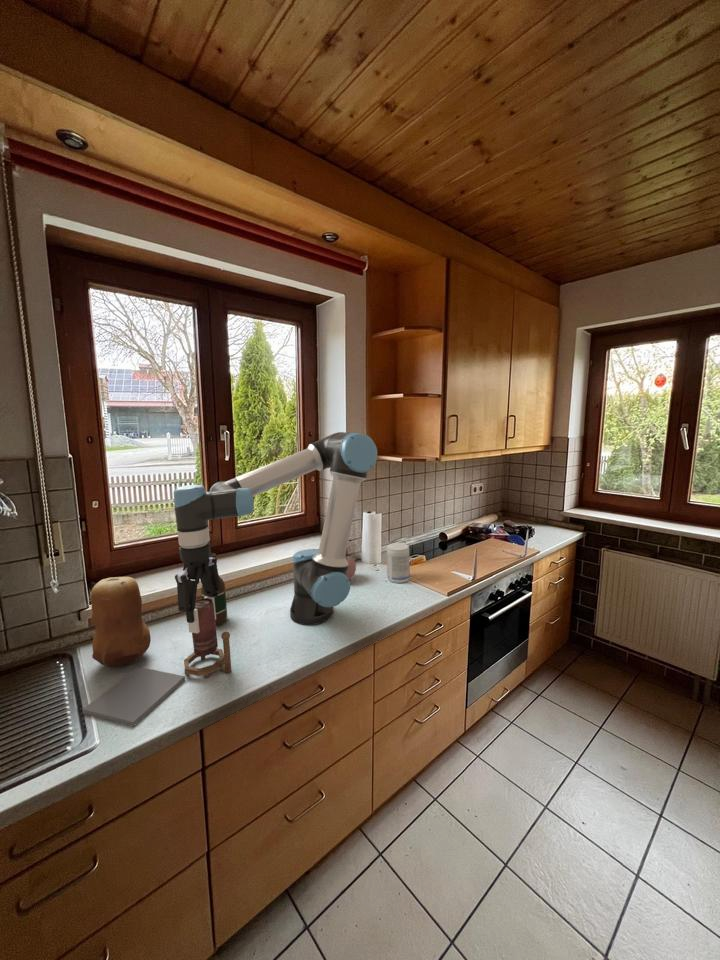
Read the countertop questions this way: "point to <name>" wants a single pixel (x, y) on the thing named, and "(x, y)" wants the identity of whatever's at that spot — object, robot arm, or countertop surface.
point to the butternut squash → (118, 622)
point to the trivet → (134, 696)
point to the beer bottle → (218, 600)
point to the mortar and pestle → (351, 568)
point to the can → (205, 628)
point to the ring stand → (217, 664)
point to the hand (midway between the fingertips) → (203, 625)
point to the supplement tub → (398, 562)
